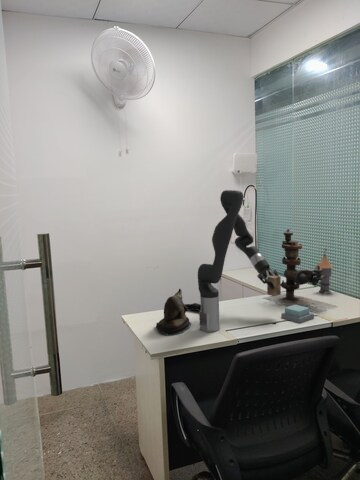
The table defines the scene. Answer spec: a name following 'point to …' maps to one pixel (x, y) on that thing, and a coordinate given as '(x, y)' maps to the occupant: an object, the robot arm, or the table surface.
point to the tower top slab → (297, 310)
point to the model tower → (325, 274)
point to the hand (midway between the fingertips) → (276, 287)
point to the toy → (193, 306)
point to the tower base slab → (297, 319)
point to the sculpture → (174, 316)
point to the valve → (298, 278)
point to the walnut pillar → (277, 284)
